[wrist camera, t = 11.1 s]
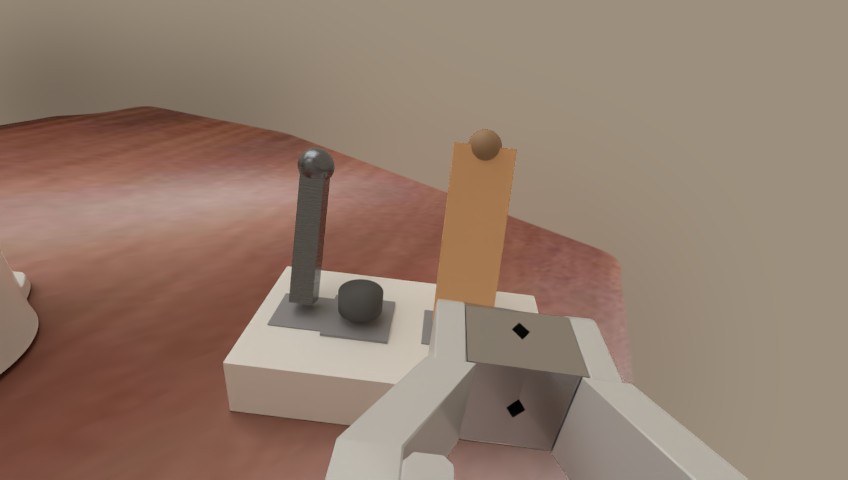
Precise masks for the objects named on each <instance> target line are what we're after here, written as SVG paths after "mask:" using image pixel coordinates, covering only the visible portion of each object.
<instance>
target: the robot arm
mask: <svg viewBox="0 0 848 480" xmlns="http://www.w3.org/2000/svg"><path fill="white" fill-rule="evenodd" d="M30 288H31V284H30V282H29V280H28V279H27V277H26V275H25V274H24V273H22V272H15V271H12V270H11V268H10V266H9V264H8V263H7V261H6V259H5V257H4V255H3V254H2V252H1V250H0V374H1V373H3V372H4V371H5V370H6V369H7V368H9V367H10V366H11V365H12V364H13V363H14V362H15V361H16V360H17V359H18V358H19V357H20V356H21V355H22V354H23V353H24V352H25V351H26V350H27V348H28V347H29V346H30V344H31V343H32V341H33V339H34V337H35V335H36V333H37V330H38V317H37V314H36V312H35V311H34V309H33V308H32V307H31V306H30V304H29V303H28V301H27V297H28V295H29V292H30ZM458 439H466V440H476V441H485V442H495V443H505V444H510V445H516V446H522V447H529V448H535V449H541V450H547V451H552V453H551V454H552V455H553V457H554V458H555V459H556V461H557V462H558V463H559V465H560V466H561V468H562V469H563V470H564V472H565V473H566V475H567V476H568V477H569V479H570V480H749V479H747V478H746V477H745V476H744V475H742V474H741V473H740V472H739V471H737V470H736V469H735V468H734V467H733V466H731V465H730V464H729V463H728V462H727V461H725V460H724V459H723V458H722V457H720V456H719V455H718V454H716V453H715V452H714V451H713V450H712V449H711V448H709V447H708V446H707V445H706V444H704V443H703V442H702V441H701V440H700V439H698V438H697V437H696V436H694V435H693V434H692V433H691V432H690V431H689V430H687V429H686V428H685V427H684V426H682V425H681V424H680V423H679V422H678V421H676V420H675V419H674V418H672V417H671V416H670V415H669V414H668V413H666V412H665V411H664V410H663V409H662V408H660V407H659V406H658V405H657V404H655V403H654V402H653V401H652V400H650V399H649V398H648V397H647V396H645V395H644V394H643V393H642V392H641V391H639V390H638V389H637V388H636V387H635V386H633V385H632V384H628V383H623V381H622V379H621V377H620V375H619V373H618V370H617V368H616V366H615V364H614V362H613V359H612V357H611V355H610V353H609V351H608V348H607V346H606V344H605V342H604V340H603V337H602V335H601V333H600V331H599V329H598V326H597V324H596V322H595V321H593V320H592V319H587V318H578V317H568V316H565V317H562V316H554V315H546V314H538V313H530V312H522V311H515V310H511V309H505V308H499V307H492V306H486V305H479V304H473V303H467V302H464V303H463V302H460V301H452V300H445V299H438V300H437V303H436V309H435V315H434V321H433V327H432V332H431V338H430V344H429V351H428V356H426V357H425V358H424V359H423V360H422V361H420V362H419V363H418V364H417V365H416V366H415V367H414V368H413V369H412V370H411V371H410V372H408V373H407V374H406V375H405V376H404V377H403V378H402V379H401V380H400V381H399V382H398V383H396V384H395V385H394V386H393V387H392V388H391V389H390V390H389V391H388V392H387V393H386V394H384V395H383V396H382V397H381V398H380V399H379V400H378V401H377V402H376V403H375V404H374V405H372V406H371V407H370V408H369V409H368V410H367V411H366V412H365V413H364V414H363V415H362V416H360V417H359V418H358V419H357V420H356V421H355V422H354V423H353V424H352V425H351V426H350V427H349V428H347V429H346V430H345V431H344V432H343V433H342V434H341V435H340V436H339V437H338V438H337V439H336V442H335V446H334V450H333V453H332V457H331V460H330V464H329V468H328V471H327V475H326V478H325V480H454V465H453V464H452V463H451V462H450V461H449V460H448V459H447V457H448V455H449V454H450V452H451V451H452V449H453V448H454V446H455V445H456V443H457V442H458Z"/></svg>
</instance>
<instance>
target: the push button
mask: <svg viewBox="0 0 848 480" xmlns="http://www.w3.org/2000/svg"><path fill="white" fill-rule="evenodd" d="M382 307H383V289H382V287H381V286H380V285H379V284H377V283H376V282H373V281H370V280H365V279H356V280H351V281H348V282H345V283H344V284H342V285H341V286H340V288H339V290H338V312H339V314H340V315H341V316H342V317H343V318H345V319H347V320H349V321H352V322H368V321H372V320H374V319H376V318H377V317H379V316H380V314H381V313H382Z"/></svg>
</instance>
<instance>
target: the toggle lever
mask: <svg viewBox="0 0 848 480" xmlns="http://www.w3.org/2000/svg"><path fill="white" fill-rule="evenodd" d="M298 170H299V173H300V180H299V191H298V202H297V214H296V225H295V236H294V247H293V259H292V270H291V281H290V293H289V302H292V303H300V304H308V305H313V304H314V303H315V302H316V301H317V300H318V298H319V287H320V277H321V267H322V256H323V246H324V235H325V225H326V214H327V204H328V193H329V183H330V178H331V176H332V175H333V172H334V161H333V158H332V157H331V155H330V154H329V153H328V152H327V151H325V150H323V149H321V148H310V149H308V150H306V151H304V152H303V153H302V154H301V156H300V158H299V160H298Z"/></svg>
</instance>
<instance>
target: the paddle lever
mask: <svg viewBox="0 0 848 480" xmlns="http://www.w3.org/2000/svg"><path fill="white" fill-rule="evenodd" d="M516 153H517V150H516V149H507V148H502V143H501V140H500V137H499V136H498V135H497V134H496V133H495V132H494V131H491V130H488V129H482V130H479V131H477V132H475V133H474V134H473V135H472V136H471V138H470V139H469V142H468V144H464V143H456V142H455V143H454V147H453V155H452V163H451V171H450V179H449V187H448V195H447V203H446V212H445V220H444V228H443V236H442V244H441V252H440V260H439V268H438V276H437V284H436V293H435V301H434V309H433V318H432V322H433V321H434V315H435V309H436V303H437V300H438V299H445V300H452V301H460V302H463V303H464V302H467V303H473V304H479V305H486V306H492V307H494V306H495V299H496V292H497V285H498V278H499V271H500V264H501V257H502V250H503V243H504V236H505V229H506V222H507V215H508V208H509V201H510V194H511V187H512V180H513V174H514V167H515V160H516Z"/></svg>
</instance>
